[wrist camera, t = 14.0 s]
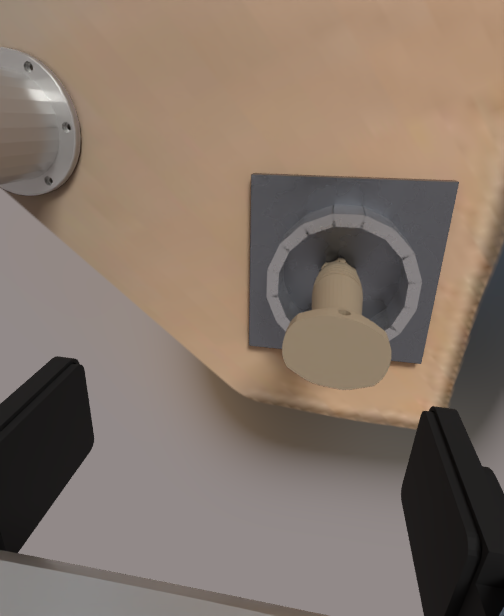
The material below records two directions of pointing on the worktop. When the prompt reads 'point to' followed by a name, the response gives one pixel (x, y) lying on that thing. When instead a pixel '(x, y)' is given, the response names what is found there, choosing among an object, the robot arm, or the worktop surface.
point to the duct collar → (348, 250)
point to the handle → (337, 335)
